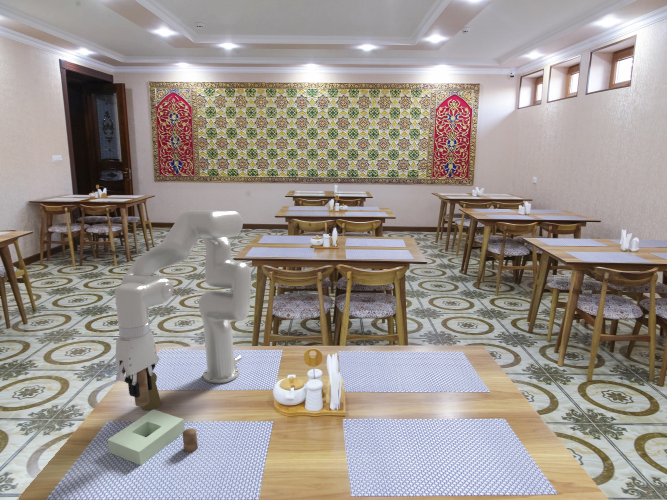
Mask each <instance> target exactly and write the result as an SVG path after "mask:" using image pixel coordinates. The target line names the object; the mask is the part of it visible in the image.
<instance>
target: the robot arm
mask: <svg viewBox="0 0 667 500" xmlns="http://www.w3.org/2000/svg"><path fill="white" fill-rule="evenodd" d="M243 222H244V221H243V218H242V216H241V214H240V213H239V212H238V211H235V210H228V209H227V210H224V209H222V210H221V209H201V210H199V209H189V210H184V211H183V212H181V213H180V215H178V217H177V219H176V220H175V222H174V224H173V225H172V227H171V229H170V230H169V231H168V232H167V234H166V236H165V237H164V239H163V240H162V242H161V243H160V244H158V245H156V246H155V247H152V248H151V249H150V250H148V251H147V252H145V253H143V254H142V255H141V256H139V257H138V258H137V259H136V260H134V262H133V263H132V264H131V265H130V267H129V268H128V270H127V271H126V273H125V274H124V276H123V278H122V280H121V283H120V285H118V286H117V287H116V288H115V290H114V298H115V306H116V316H117V324H118V333H119V336H118V337H117V338H116V344H115V369H116V372H117V374H116V377H115V380H116V381H118V382H123V383H126V384H128V385H127V386H128V394H129V396H130V397H132V398H133V397H134V398H135V397H136V398H138V397H139V396H140V393H139V384H138V383H136V380H137V372H139V371H141V370H143V369H145V368H146V372H147V382H148V390H152V380H151V376H152V375H153V372H154V370H155V368H156V365H157V364H158V363H159V362H160V356H158V354H157V347H156V342H155V337H154V334H153V331H152V329H150V328H151V327H150V326H151V324H152V320H151V319H150V315H149V308H151V307H155V306H159V305H163V304H164V303H165V304H166V302H168V301H169V300H170V299H171V298H172V296H173V294H174V290H175V289H174V284H173V283H172V281H171V280H170V279H168V278H166V277H163V276H153V274H154V273H156V272H157V271H160V270H161V269H165V268H167V267H172V266H174V265H177V264H180V263H182V262H184V261H186V260H187V259H188V258H189V257H190V255H191V253H192V251H193V249H194V248H195V246H196V244H197V242H198V241H199V240H200V239H202V240H203V242H204V246H205V267H204V280H205V283H206V285H208V286H210V287H213V288H219V289H220V288H221V289H230V290H232V292H229V291H221V290H209V291H206V292H204V293H203V294H202V295H201V297H200V299H199V301H198V309H199V313H200V317H201V320H202V324H203V331H204V333H203V334H204V344H205V358H206V368H207V369H206V370H204V372H203V375H202V376H203V379H204V381H205V382H207V383H211V384H225V383H229V382H231V381H233V380H235V379H236V378H238V376H239V375H240V369H239V367H238V366H237V363H239V362H240V361H242V359H243V357H242V356H241V355H237V356H235V354H234V341H233V338H234V337H233V328H232V325H231V322H230V321H233V322H243V321H245V320H246V319H247V317H248V316H249V313H250V307H251V294H252V293H251V290H252V289H251V287H252V272H251V269H250V267H249V265H248V264H247V263H245V262H244V261H236V260H235V261H234V260H232V246H231V242H230V240H229V238H233V237H234V238H235V237H237V235H239V234H240V233H241V232H242V229H243V226H244V225H243V224H244V223H243Z"/></svg>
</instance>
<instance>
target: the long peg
mask: <svg viewBox="0 0 667 500" xmlns="http://www.w3.org/2000/svg"><path fill="white" fill-rule="evenodd" d="M136 383H138V384H139V393H140V396H139V397H138V398H136V397H134V405H135V406H136V407H141V406H145V405H147V404H148V403H149V392H148V382H147V372H146V368H145V369H143V370H141V371H139V372H137V380H136Z"/></svg>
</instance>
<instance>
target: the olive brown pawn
mask: <svg viewBox="0 0 667 500" xmlns="http://www.w3.org/2000/svg"><path fill="white" fill-rule="evenodd" d="M151 380H152V390H148V392H149V403H148V404H147V405H145V406H140V407H141V409H142V410H144V411H152V410H153V409H154V410H156V409H157V408H159V407H160V406H161V405H162V401H161V398H160V397H161V396H160V394H159V390H158V386H157V380H158V376H157V374H156V373H155V372H154V371H153V375H152V376H151Z"/></svg>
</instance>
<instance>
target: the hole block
mask: <svg viewBox="0 0 667 500" xmlns="http://www.w3.org/2000/svg"><path fill="white" fill-rule="evenodd" d="M185 430H186V429H185V419H184V418H181V417H178V416H175V415H172V414H170V413H167V412H163V411H160V410H157V409H152V410H149V412H147V413H145V414H144V415H143V416H141V417H140V418H138V419H136V420H135V421H134V422H132V423H130V424H129V425H127V426H126V427H125V428H123V429H120V430H119V431H118V432H117V433H115V434H114V435H112V436H110V437H109V438H108V439H107V444H108V445H107V446H108V451H109V452H108V453H110V454H112V455H115V456H117V457H119V458H121V459H124V460H127V461H129V462H132V463H134V464H137V465H139V466H142V465H143V464H144V463H146V462H147V461H149V460H150V459H151V458H152V457H154V456H155V455H156V454H157V453H159V452H160V451H162V450H163V449H164V448H165V447H166V446H168V445H169V444H171V442H173V441H175V439H177V438H178V437H180V436H181V435H183V432H184V431H185Z"/></svg>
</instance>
